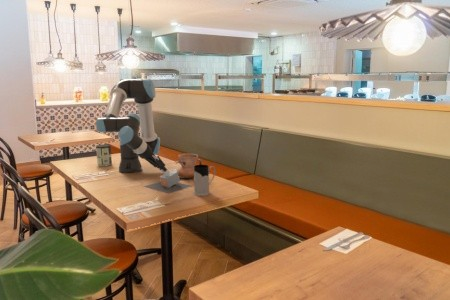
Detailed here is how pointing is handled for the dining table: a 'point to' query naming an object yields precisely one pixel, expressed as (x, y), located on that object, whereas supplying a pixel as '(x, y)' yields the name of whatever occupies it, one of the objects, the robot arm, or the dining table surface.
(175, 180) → the block
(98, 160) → the coffee can
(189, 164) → the ceramic jug
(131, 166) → the robot arm
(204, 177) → the tall grey mug
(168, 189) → the mat
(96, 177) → the dining table surface
